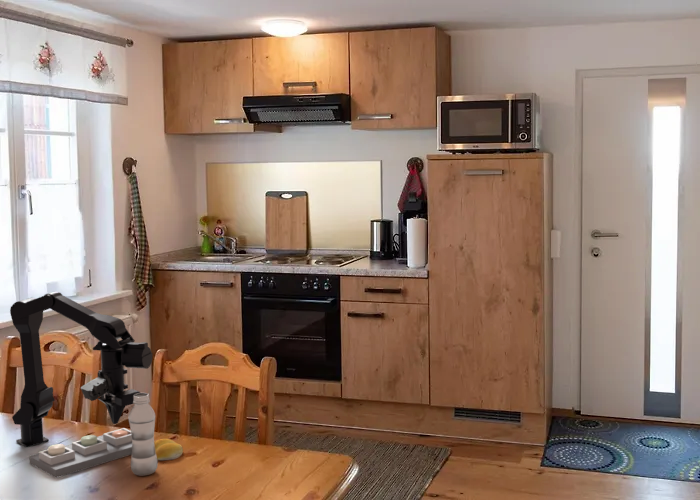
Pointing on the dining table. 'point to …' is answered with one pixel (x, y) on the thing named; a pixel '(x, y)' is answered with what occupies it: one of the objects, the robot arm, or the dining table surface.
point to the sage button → (88, 440)
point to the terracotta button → (119, 433)
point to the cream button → (56, 449)
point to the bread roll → (167, 449)
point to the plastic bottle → (142, 436)
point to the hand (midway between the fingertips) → (115, 423)
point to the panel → (84, 455)
